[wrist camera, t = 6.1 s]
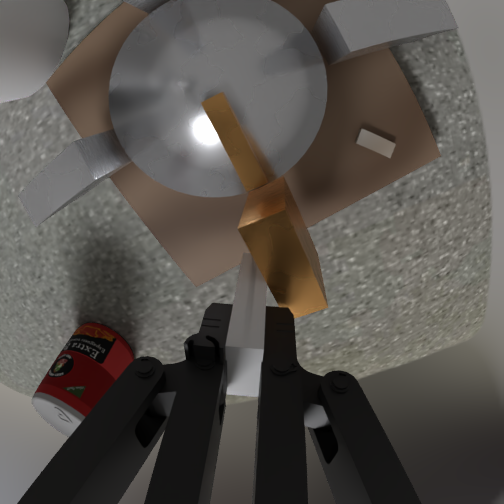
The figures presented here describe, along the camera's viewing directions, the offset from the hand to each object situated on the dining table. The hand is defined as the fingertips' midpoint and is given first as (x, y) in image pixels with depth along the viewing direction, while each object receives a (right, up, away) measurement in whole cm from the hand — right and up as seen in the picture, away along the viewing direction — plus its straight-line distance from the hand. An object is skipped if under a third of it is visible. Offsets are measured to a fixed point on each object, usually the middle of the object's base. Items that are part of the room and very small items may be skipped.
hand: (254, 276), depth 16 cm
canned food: (-16, -9, +15) cm, 24 cm away
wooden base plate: (-1, +11, +2) cm, 12 cm away
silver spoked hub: (-2, +9, -2) cm, 10 cm away
